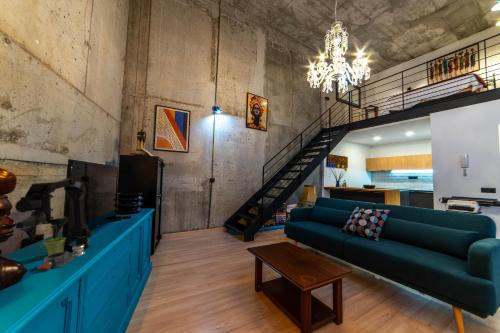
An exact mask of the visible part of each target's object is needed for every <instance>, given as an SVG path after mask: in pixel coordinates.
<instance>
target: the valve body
mask: <svg viewBox="0 0 500 333" xmlns="http://www.w3.org/2000/svg"><path fill="white" fill-rule="evenodd" d="M75 258H76V257H75V256H73V255H72V254H71V252H70V251H64V252H58V253H55V254H51V255H49V256H48V255H47V256H45V257H44V258H43V259H44V262H43V263H42V264H40V265H39V266H37V271H39V270H41V271H42V272H46V271H50V270H51V269H53V268H54V269H56V268H61V267H63V266H64V265H66V264H68V263H70V262H72V261H73V260H74V259H75Z"/></svg>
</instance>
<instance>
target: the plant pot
mask: <svg viewBox="0 0 500 333" xmlns="http://www.w3.org/2000/svg"><path fill="white" fill-rule="evenodd" d="M66 239H67V237H57V238H56V239H53V238H51V239H48V240H46V241H44V242H43V245H44V246H45V247H46V251H47V256H49V255H51V254H55V253H58V252H65V251H64V249H65V242H66Z"/></svg>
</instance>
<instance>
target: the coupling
mask: <svg viewBox="0 0 500 333" xmlns="http://www.w3.org/2000/svg"><path fill="white" fill-rule="evenodd" d="M84 250H85V249H84V245H83V244H82V245H77V246H76V245H75V246H72V251H73V254H72V256H75V258H76V257H81V256H84V255H85V253H86V251H84Z"/></svg>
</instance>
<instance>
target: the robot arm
mask: <svg viewBox="0 0 500 333" xmlns="http://www.w3.org/2000/svg"><path fill="white" fill-rule="evenodd" d="M61 188H63V190H64V191H65V192H66V193H67V196H68V198H69V200H71V203H72V204H71V205H72V206H71V207H72V219H73V220H72V221H73V223H72V225H71V227H69V235H70V239H71V240H72V241H75V246H77V245H82V244H83V245H84V250H86V249H87V248H89V247H91V246H92V244H89V239H90V238H91V237H92V236H93V231H91V230H90V229H89V226H88V224H87V223H86V221H85V213H84V197H85V195H86V192H87V188H86V186H85V185H84V184H83V183H81V182H80V181H76V179H74V178H63V179H59V180H55V181H51V182H50V181H49V182H33V183H32V184H31V185H30V187H29V189H28V190H27V192H26V193H25V195H24V196H21V197H20V199H19V200H18V201H17V202H16V204H15V205H14V206H15V210H16V211H17V212H18V213H27V212H31V214H30V216H27V217H26V218H24V219H23V220H21V221H18V222H17V223H16V224H15V229H17V230H19V231H23V232H25V233H26V235H27V236H28V238H29V239H30V241H31V242H35V241H36V234H37V227H38V226H40V225H51V226H50V227H51V229H52V239H57V238H58V236H59V233H60V231H61V230H62V228H63V227H64V225H66V224H67V223H69V221H70V220H69V218H68V216H61V217H60V216H59V217H56V218H54V216H52V212H53V211H54V209H53V208H52V204H51V203H52V201H51V199H52V198H55V197H54V195H52V193H54V192H56V190H58V189H61Z"/></svg>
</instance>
